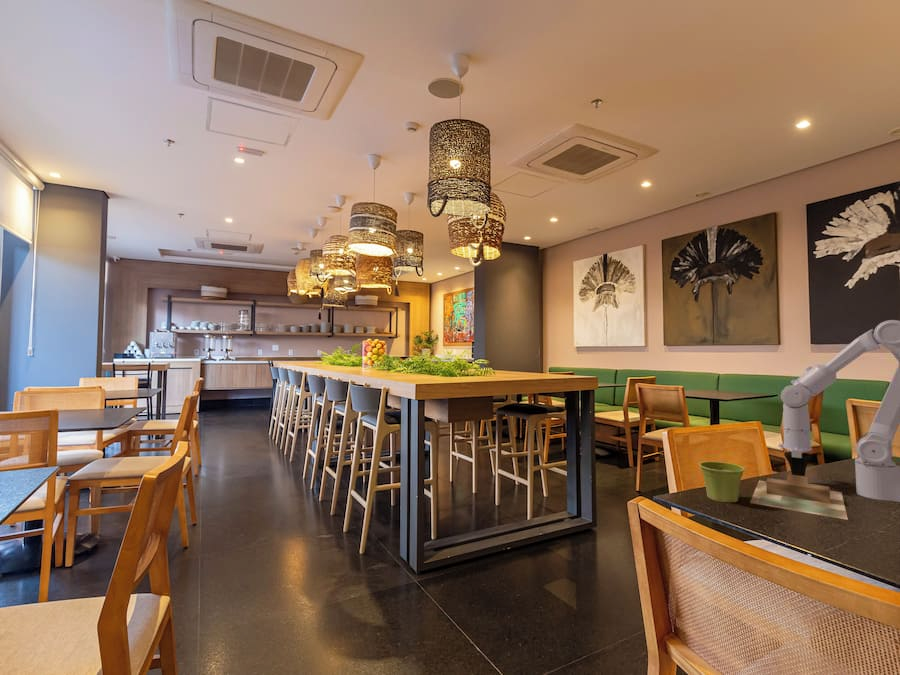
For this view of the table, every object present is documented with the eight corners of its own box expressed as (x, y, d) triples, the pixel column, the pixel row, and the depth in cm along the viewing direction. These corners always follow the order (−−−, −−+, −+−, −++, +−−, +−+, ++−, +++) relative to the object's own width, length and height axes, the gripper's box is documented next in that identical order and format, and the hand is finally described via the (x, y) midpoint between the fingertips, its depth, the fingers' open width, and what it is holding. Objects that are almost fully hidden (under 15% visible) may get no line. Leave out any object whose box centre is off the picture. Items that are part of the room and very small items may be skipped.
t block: (828, 491, 111) (828, 479, 111) (830, 503, 101) (829, 490, 102) (770, 482, 118) (769, 471, 118) (766, 493, 109) (766, 481, 109)
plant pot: (753, 510, 100) (752, 471, 100) (708, 507, 102) (707, 469, 102) (735, 497, 109) (734, 462, 110) (694, 495, 111) (693, 460, 112)
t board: (841, 496, 110) (841, 492, 110) (848, 524, 91) (847, 519, 91) (759, 484, 121) (759, 480, 121) (750, 507, 102) (749, 502, 102)
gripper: (779, 424, 127) (781, 472, 126) (776, 431, 116) (778, 483, 115) (811, 427, 122) (813, 476, 122) (811, 434, 111) (813, 488, 110)
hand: (798, 480), depth 118 cm, fingers closed
